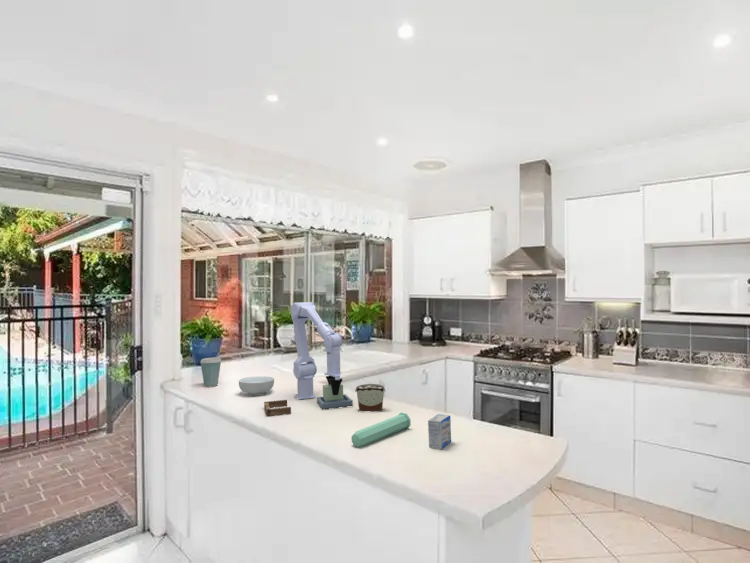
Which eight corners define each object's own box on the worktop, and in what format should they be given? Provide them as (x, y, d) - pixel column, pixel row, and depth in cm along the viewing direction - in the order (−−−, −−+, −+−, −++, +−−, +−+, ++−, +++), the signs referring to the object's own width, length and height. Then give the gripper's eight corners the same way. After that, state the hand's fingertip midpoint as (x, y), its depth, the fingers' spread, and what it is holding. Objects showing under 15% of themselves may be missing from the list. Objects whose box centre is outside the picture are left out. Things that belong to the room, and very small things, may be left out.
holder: (264, 407, 190) (264, 401, 190) (286, 405, 193) (286, 399, 193) (266, 416, 177) (266, 410, 177) (291, 413, 179) (290, 407, 179)
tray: (317, 402, 196) (316, 397, 196) (345, 399, 200) (345, 394, 200) (322, 409, 184) (322, 403, 184) (352, 406, 188) (352, 400, 188)
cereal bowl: (269, 397, 208) (269, 382, 208) (234, 398, 208) (233, 383, 208) (278, 389, 225) (277, 375, 225) (245, 389, 225) (245, 375, 225)
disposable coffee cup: (196, 387, 232) (195, 359, 232) (207, 383, 242) (206, 355, 243) (215, 388, 230) (214, 359, 230) (225, 383, 241) (225, 355, 241)
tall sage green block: (323, 398, 193) (322, 384, 193) (341, 396, 195) (340, 383, 195) (325, 401, 189) (324, 387, 189) (343, 399, 191) (343, 385, 191)
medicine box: (441, 450, 136) (440, 421, 137) (428, 447, 139) (427, 419, 139) (451, 442, 143) (450, 415, 143) (438, 439, 145) (438, 413, 146)
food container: (386, 407, 186) (386, 383, 186) (385, 411, 180) (385, 386, 180) (357, 407, 187) (357, 383, 187) (355, 411, 181) (355, 386, 181)
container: (357, 429, 139) (407, 410, 158) (345, 433, 143) (396, 414, 161) (363, 448, 138) (413, 427, 156) (351, 451, 142) (401, 430, 160)
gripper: (321, 360, 198) (321, 390, 198) (327, 365, 184) (328, 398, 184) (336, 359, 200) (337, 389, 200) (344, 364, 186) (345, 396, 186)
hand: (334, 393), depth 192 cm, fingers closed on tall sage green block, 4 cm apart
